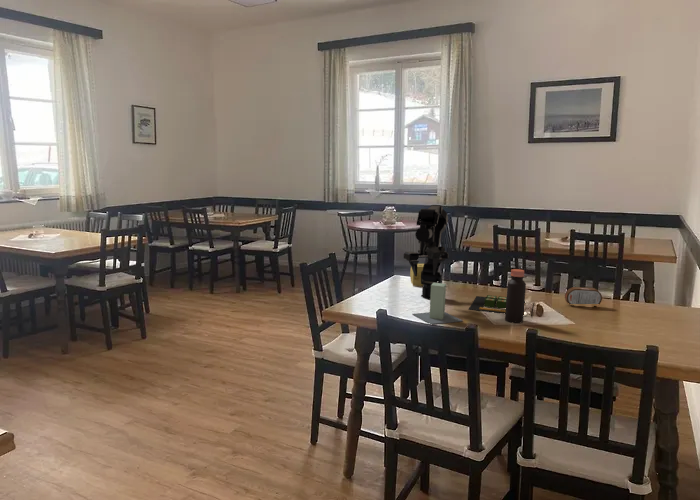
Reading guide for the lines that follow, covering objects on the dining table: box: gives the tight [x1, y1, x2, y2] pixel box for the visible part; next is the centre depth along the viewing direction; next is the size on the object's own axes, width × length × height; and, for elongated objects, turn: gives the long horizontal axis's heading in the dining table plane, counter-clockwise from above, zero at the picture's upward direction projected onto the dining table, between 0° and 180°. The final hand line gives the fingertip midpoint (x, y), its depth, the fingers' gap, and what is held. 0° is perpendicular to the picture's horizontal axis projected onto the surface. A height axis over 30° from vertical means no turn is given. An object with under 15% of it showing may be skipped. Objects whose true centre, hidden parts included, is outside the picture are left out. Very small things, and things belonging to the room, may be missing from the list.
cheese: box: [409, 263, 425, 287], centre depth 267 cm, size 10×11×10 cm
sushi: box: [467, 294, 507, 314], centre depth 229 cm, size 25×25×4 cm
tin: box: [564, 286, 603, 305], centre depth 231 cm, size 15×3×8 cm, turn 84°
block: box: [429, 282, 447, 319], centre depth 208 cm, size 5×5×13 cm
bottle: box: [504, 268, 527, 324], centre depth 206 cm, size 7×7×20 cm
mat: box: [412, 311, 463, 325], centre depth 209 cm, size 14×14×1 cm
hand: (425, 275), depth 225 cm, fingers open, 9 cm apart
